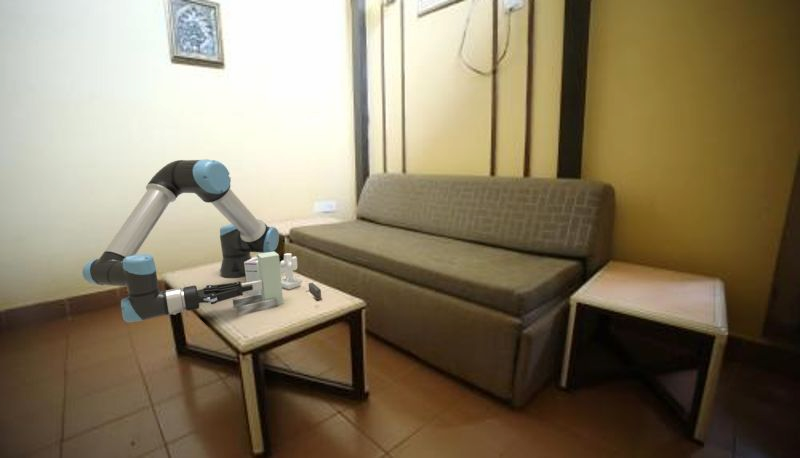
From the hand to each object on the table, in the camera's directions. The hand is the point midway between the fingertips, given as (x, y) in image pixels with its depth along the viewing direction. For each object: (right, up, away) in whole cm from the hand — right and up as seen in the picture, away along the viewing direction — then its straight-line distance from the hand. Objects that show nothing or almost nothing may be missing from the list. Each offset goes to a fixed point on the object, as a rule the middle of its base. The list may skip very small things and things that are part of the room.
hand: (261, 284), depth 126 cm
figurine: (+4, -5, +21) cm, 22 cm away
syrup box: (-7, -7, +15) cm, 18 cm away
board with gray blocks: (+4, -8, +6) cm, 11 cm away
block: (+2, -7, +4) cm, 9 cm away
